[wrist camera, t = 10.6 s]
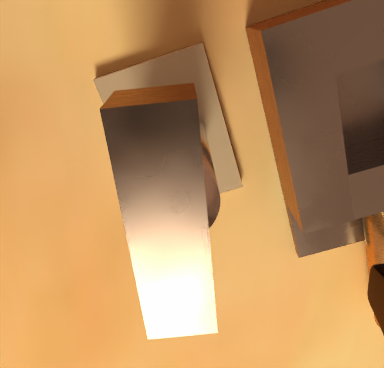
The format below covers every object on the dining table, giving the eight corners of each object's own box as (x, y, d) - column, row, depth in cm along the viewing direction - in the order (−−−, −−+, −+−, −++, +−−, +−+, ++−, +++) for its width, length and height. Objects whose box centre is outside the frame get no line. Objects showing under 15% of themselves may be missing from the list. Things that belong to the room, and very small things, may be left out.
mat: (95, 77, 18) (93, 79, 18) (202, 42, 18) (202, 42, 17) (150, 208, 21) (150, 213, 21) (241, 182, 21) (242, 186, 20)
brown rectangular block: (151, 206, 21) (131, 340, 12) (127, 61, 17) (77, 111, 9) (211, 200, 21) (233, 331, 12) (199, 54, 17) (219, 97, 9)
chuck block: (245, 27, 17) (261, 31, 14) (457, -45, 16) (527, -59, 13) (310, 316, 26) (330, 360, 23) (453, 280, 25) (494, 321, 22)
